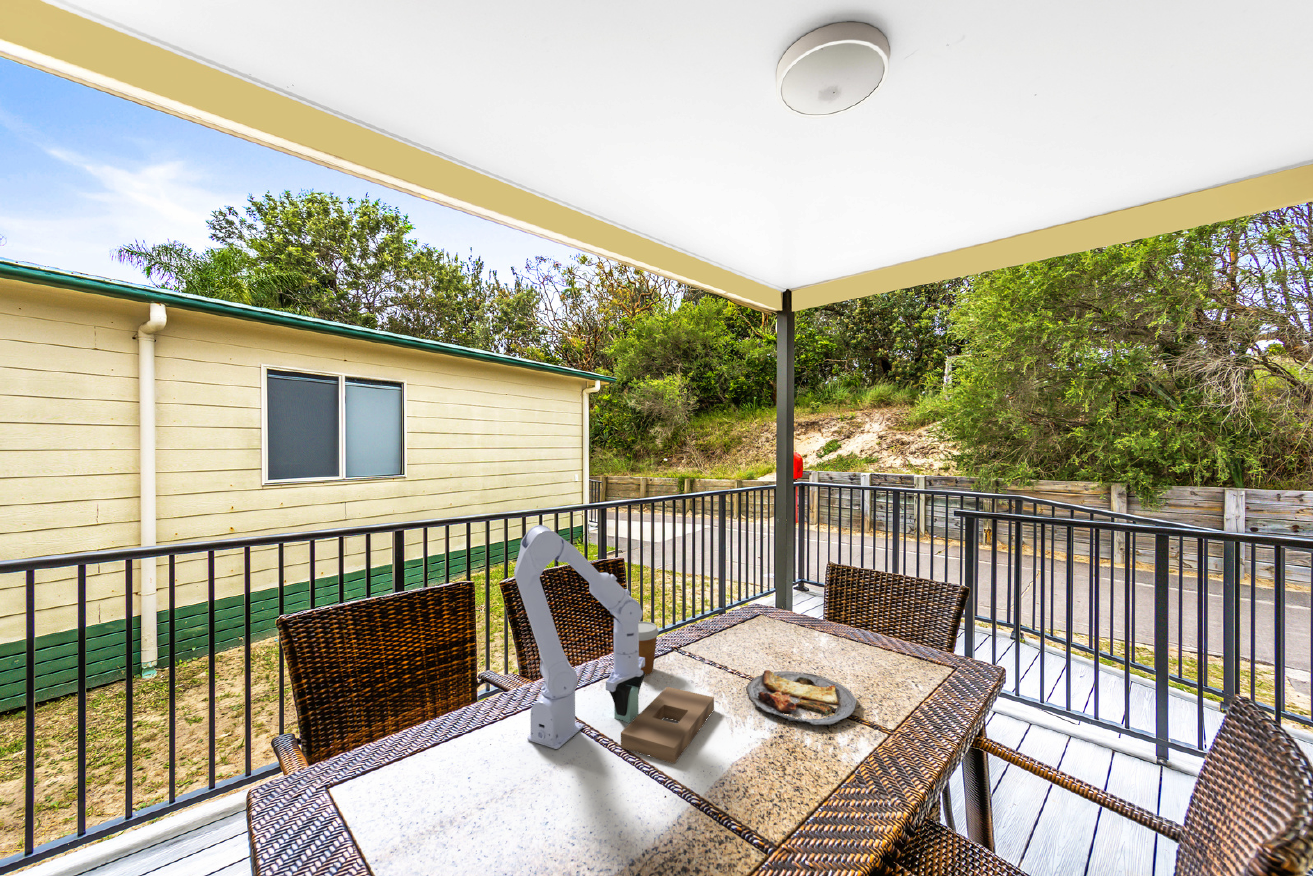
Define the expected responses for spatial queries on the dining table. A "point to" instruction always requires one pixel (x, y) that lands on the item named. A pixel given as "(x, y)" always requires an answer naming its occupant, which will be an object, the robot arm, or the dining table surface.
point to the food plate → (800, 696)
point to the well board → (667, 724)
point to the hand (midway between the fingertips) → (626, 709)
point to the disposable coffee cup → (647, 644)
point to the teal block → (630, 706)
